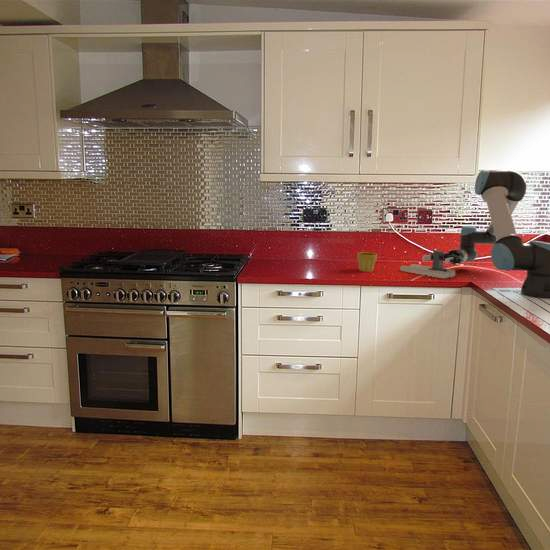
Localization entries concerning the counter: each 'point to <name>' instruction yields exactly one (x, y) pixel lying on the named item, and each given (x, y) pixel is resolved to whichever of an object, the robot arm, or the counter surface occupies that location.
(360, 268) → the plant pot
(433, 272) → the rail
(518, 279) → the counter surface
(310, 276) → the counter surface
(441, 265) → the post
